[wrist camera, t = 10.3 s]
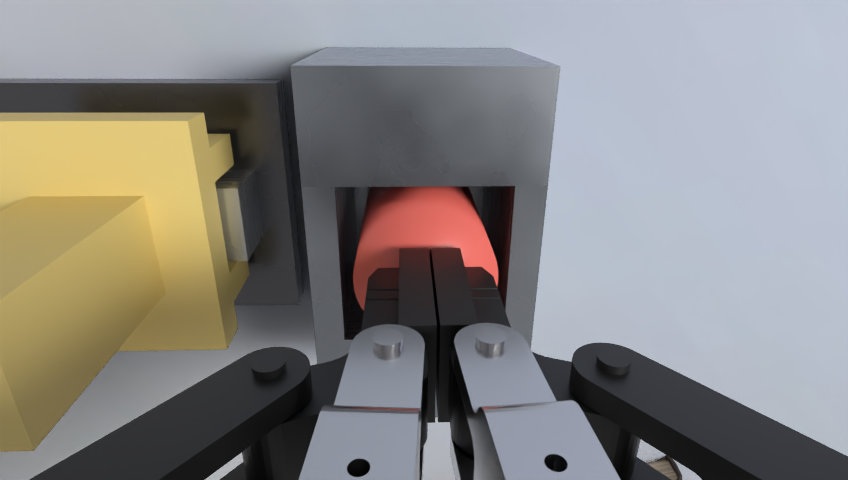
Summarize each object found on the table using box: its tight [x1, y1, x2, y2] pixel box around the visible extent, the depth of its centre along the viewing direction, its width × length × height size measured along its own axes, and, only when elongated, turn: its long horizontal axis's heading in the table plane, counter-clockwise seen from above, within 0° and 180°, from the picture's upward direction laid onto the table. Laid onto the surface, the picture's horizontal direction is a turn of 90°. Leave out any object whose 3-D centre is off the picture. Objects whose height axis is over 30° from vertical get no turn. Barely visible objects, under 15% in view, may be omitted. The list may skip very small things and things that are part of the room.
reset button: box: [353, 186, 498, 311], centre depth 15 cm, size 4×4×5 cm
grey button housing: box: [290, 47, 560, 417], centre depth 16 cm, size 10×6×6 cm, turn 0°
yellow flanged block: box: [0, 113, 250, 452], centre depth 13 cm, size 7×6×9 cm
